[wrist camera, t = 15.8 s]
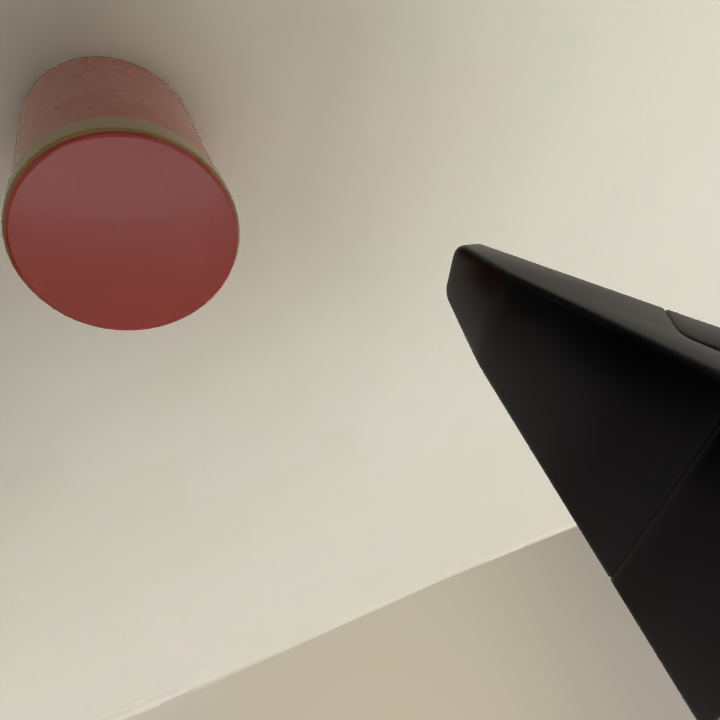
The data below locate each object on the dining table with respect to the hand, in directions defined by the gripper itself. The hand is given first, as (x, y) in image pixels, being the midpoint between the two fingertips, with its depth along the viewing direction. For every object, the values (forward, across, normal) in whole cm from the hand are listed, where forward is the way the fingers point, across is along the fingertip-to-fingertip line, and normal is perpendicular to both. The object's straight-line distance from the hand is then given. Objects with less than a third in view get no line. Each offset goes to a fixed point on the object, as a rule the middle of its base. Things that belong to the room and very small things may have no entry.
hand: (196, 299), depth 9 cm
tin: (+10, +1, +1) cm, 10 cm away
